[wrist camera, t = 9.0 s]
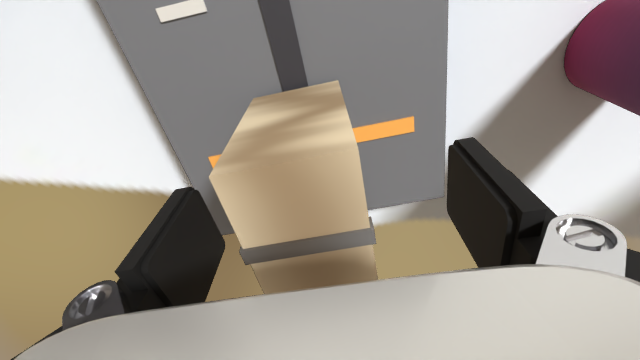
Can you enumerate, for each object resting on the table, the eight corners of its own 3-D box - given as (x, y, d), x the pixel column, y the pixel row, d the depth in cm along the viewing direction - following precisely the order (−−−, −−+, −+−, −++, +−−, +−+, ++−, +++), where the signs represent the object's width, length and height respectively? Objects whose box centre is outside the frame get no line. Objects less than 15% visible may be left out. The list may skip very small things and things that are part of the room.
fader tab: (340, 79, 13) (362, 149, 7) (358, 187, 17) (383, 298, 11) (251, 98, 14) (204, 179, 8) (284, 200, 17) (269, 314, 11)
